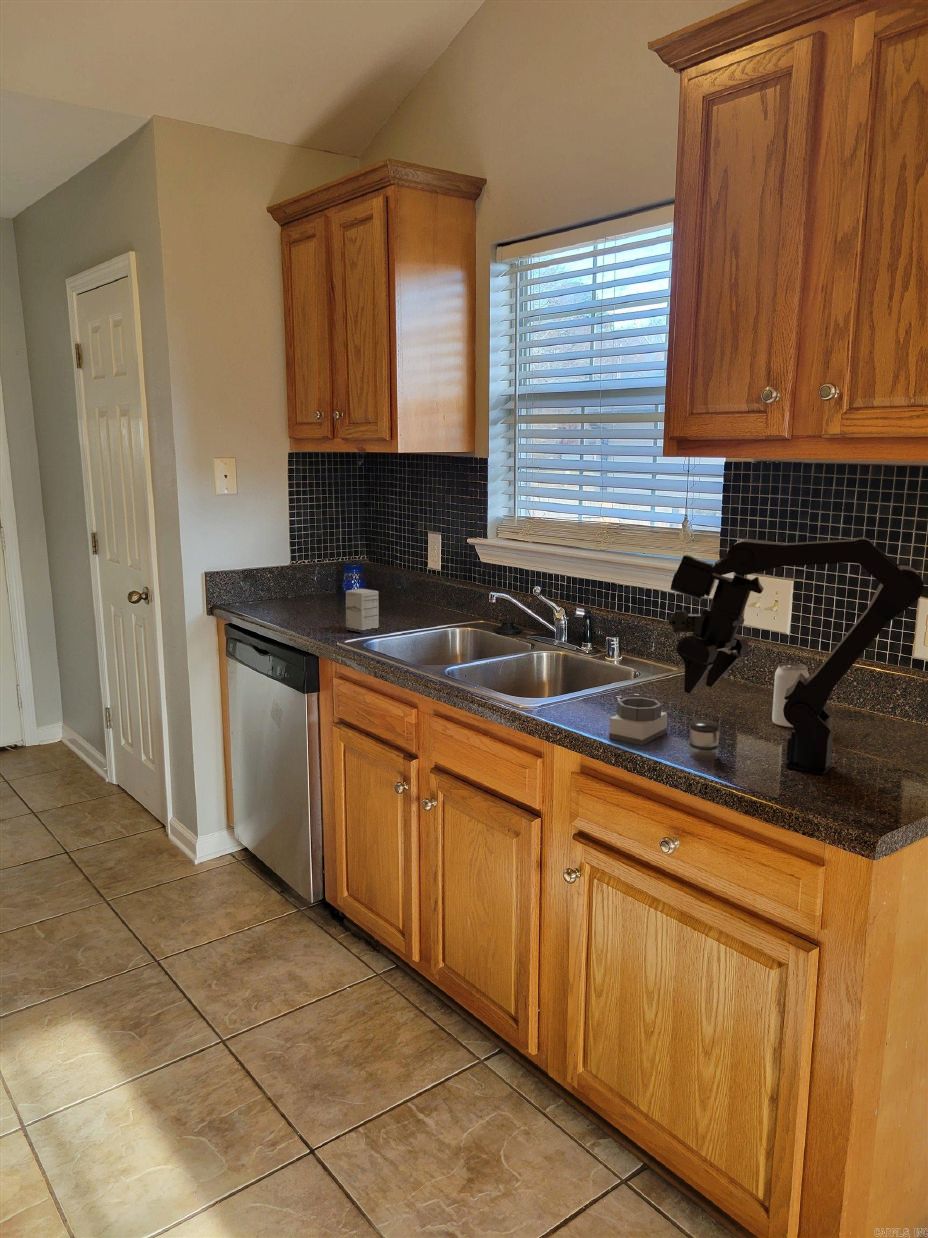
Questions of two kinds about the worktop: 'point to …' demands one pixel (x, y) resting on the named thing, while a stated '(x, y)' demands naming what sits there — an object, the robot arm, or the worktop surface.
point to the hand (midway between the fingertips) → (698, 689)
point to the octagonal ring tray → (638, 720)
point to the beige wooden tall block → (362, 609)
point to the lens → (704, 739)
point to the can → (784, 689)
